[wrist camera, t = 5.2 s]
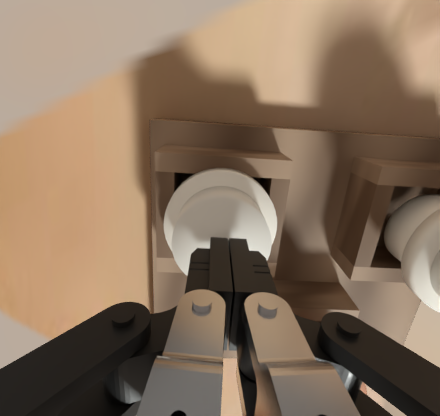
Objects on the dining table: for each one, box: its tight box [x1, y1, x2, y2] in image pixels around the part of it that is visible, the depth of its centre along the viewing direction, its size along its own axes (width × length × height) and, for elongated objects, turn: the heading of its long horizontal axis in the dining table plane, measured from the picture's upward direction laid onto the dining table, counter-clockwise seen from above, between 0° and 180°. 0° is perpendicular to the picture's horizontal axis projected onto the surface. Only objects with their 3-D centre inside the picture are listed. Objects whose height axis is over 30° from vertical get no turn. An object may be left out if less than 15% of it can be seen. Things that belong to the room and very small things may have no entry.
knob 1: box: [164, 168, 277, 275], centre depth 15 cm, size 6×6×6 cm
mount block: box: [149, 119, 440, 358], centre depth 19 cm, size 21×19×4 cm
